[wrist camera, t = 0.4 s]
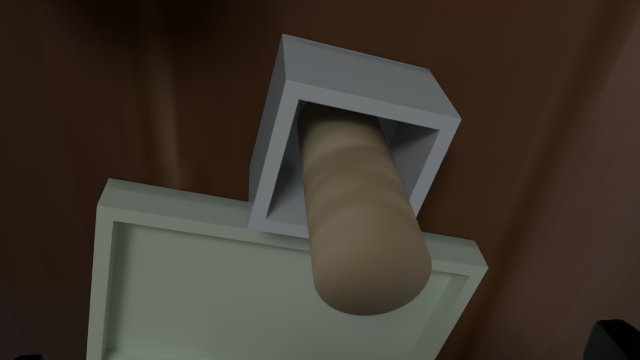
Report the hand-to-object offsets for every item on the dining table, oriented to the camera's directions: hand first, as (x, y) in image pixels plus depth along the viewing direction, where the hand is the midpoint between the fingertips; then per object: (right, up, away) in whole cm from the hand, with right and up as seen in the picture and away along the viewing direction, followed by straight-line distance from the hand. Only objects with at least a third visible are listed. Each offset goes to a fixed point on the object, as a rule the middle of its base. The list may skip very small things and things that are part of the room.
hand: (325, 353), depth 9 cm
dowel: (+1, +5, +11) cm, 12 cm away
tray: (-2, -3, +17) cm, 17 cm away
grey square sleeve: (+1, +5, +12) cm, 13 cm away
